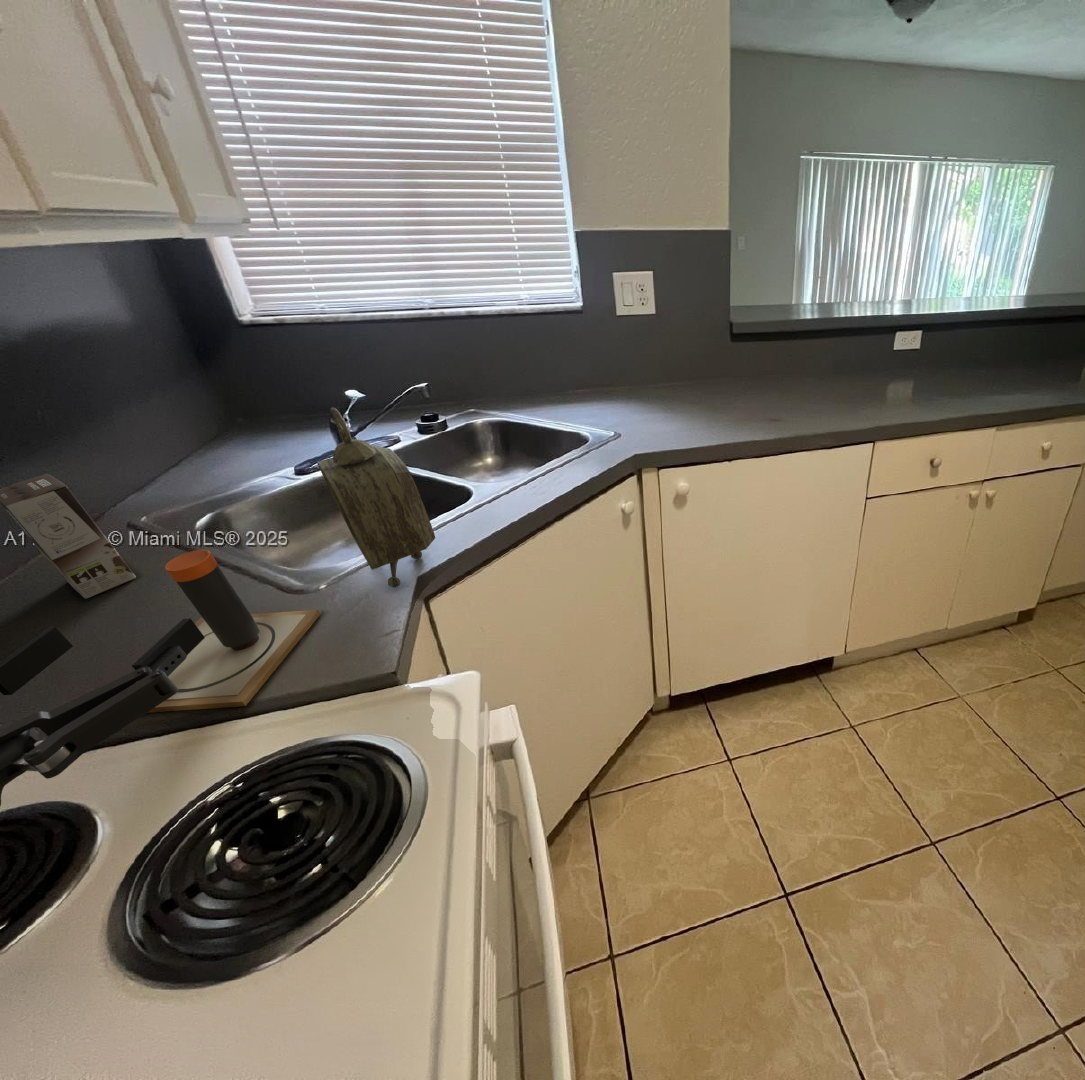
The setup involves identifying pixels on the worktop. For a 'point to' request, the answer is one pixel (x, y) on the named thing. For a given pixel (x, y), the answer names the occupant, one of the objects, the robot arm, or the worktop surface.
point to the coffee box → (65, 534)
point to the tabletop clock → (377, 501)
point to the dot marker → (214, 598)
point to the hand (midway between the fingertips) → (128, 632)
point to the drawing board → (235, 663)
